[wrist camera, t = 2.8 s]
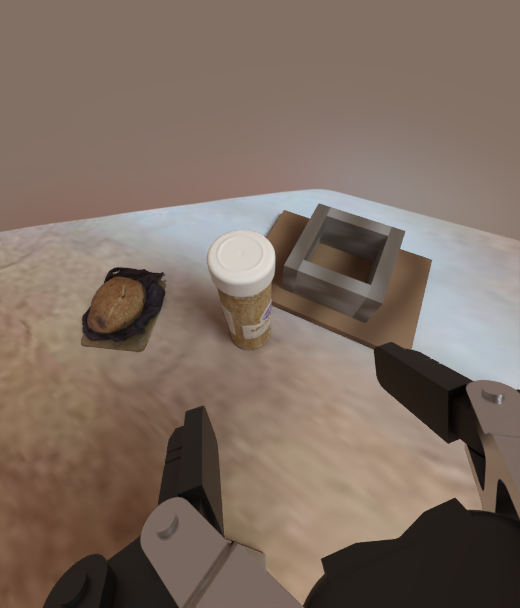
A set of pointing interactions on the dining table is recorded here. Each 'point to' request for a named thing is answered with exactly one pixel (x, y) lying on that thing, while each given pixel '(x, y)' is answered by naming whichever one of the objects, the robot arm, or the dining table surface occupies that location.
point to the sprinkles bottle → (244, 284)
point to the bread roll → (124, 310)
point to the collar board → (348, 276)
